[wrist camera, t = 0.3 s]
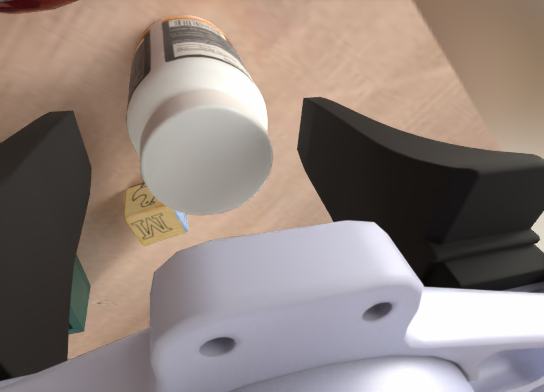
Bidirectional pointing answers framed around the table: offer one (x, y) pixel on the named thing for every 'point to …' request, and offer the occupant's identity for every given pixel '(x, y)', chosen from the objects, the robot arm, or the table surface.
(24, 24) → the table surface
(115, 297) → the table surface
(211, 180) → the pill bottle
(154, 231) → the alphabet block
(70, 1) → the soda can
